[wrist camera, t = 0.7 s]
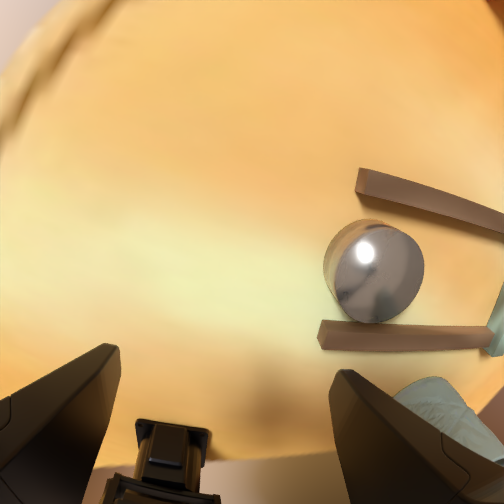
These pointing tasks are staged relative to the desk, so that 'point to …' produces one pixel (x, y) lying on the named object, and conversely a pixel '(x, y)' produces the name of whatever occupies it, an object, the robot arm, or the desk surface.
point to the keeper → (373, 270)
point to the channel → (419, 336)
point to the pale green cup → (451, 416)
